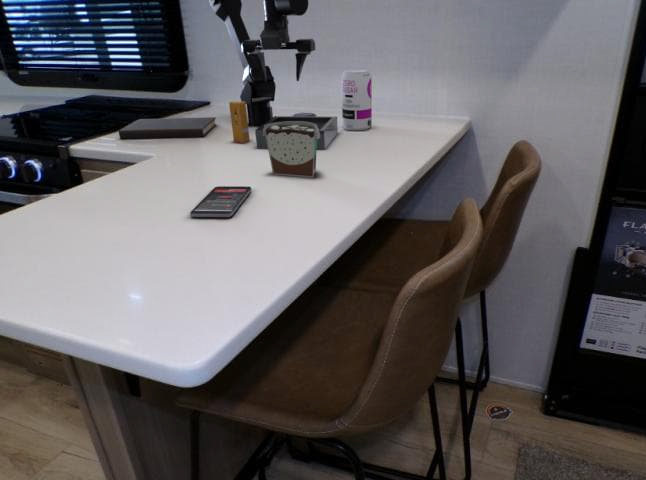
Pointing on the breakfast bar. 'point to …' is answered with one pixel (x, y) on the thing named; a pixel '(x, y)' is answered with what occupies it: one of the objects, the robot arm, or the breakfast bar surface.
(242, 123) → the supplement box
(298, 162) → the food container
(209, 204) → the smartphone
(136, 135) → the hardcover book
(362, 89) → the supplement can
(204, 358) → the breakfast bar surface
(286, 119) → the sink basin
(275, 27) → the robot arm
